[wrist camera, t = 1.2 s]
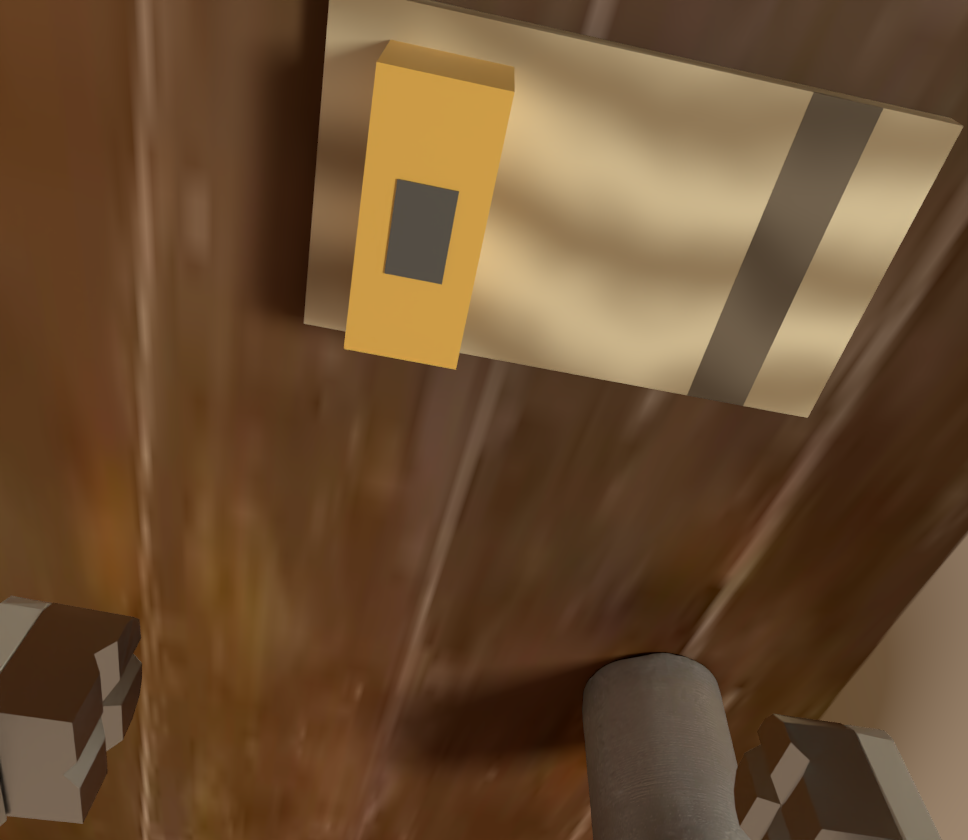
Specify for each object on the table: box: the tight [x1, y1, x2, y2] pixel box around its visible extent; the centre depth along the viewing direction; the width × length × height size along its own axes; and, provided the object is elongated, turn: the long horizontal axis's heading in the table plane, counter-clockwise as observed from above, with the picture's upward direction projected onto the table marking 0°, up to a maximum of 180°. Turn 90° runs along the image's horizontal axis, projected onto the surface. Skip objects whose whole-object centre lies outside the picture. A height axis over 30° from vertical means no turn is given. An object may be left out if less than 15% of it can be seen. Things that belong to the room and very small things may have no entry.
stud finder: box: [344, 40, 515, 369], centre depth 34 cm, size 12×5×4 cm, turn 169°
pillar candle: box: [582, 653, 751, 840], centre depth 51 cm, size 10×10×15 cm
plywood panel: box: [304, 0, 963, 418], centre depth 37 cm, size 15×26×1 cm, turn 79°
